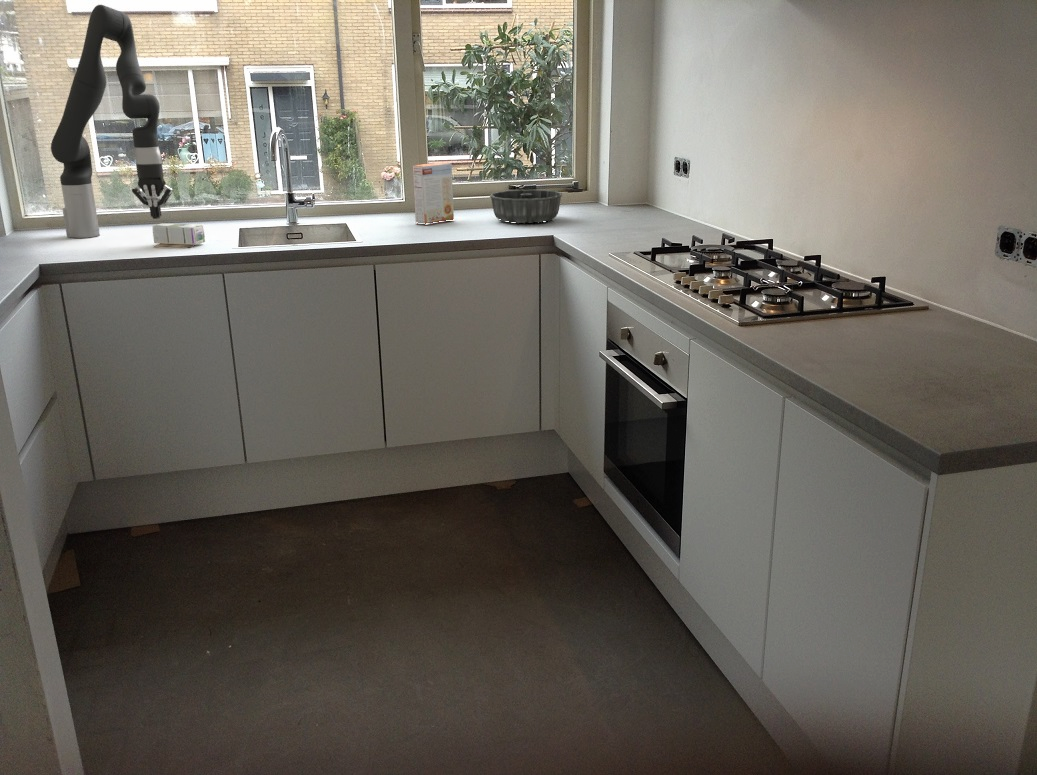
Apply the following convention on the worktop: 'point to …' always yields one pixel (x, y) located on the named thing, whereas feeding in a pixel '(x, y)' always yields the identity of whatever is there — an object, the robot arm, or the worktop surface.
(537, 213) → the bundt pan
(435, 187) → the cracker box
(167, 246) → the wooden slatted trivet
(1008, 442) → the worktop surface
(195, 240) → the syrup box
